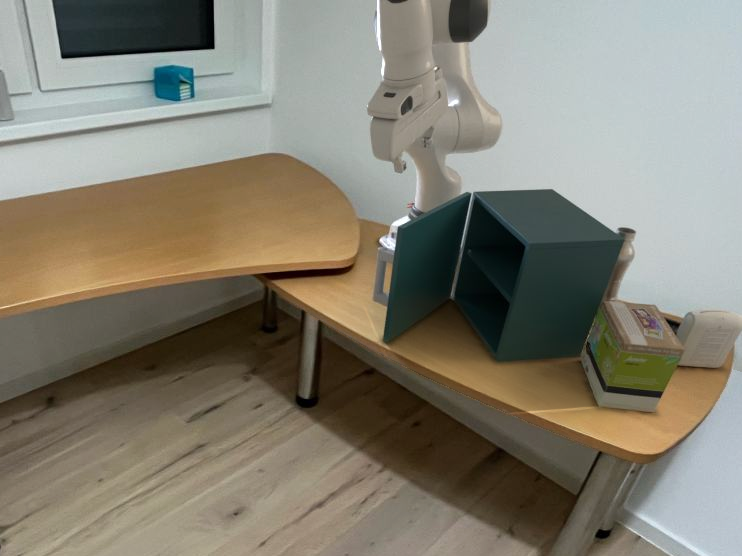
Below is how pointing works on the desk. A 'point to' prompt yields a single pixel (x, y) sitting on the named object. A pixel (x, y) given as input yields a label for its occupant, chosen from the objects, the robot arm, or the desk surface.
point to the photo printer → (708, 336)
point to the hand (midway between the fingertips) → (414, 158)
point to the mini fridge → (533, 273)
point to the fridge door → (421, 265)
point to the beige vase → (620, 264)
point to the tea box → (630, 356)
